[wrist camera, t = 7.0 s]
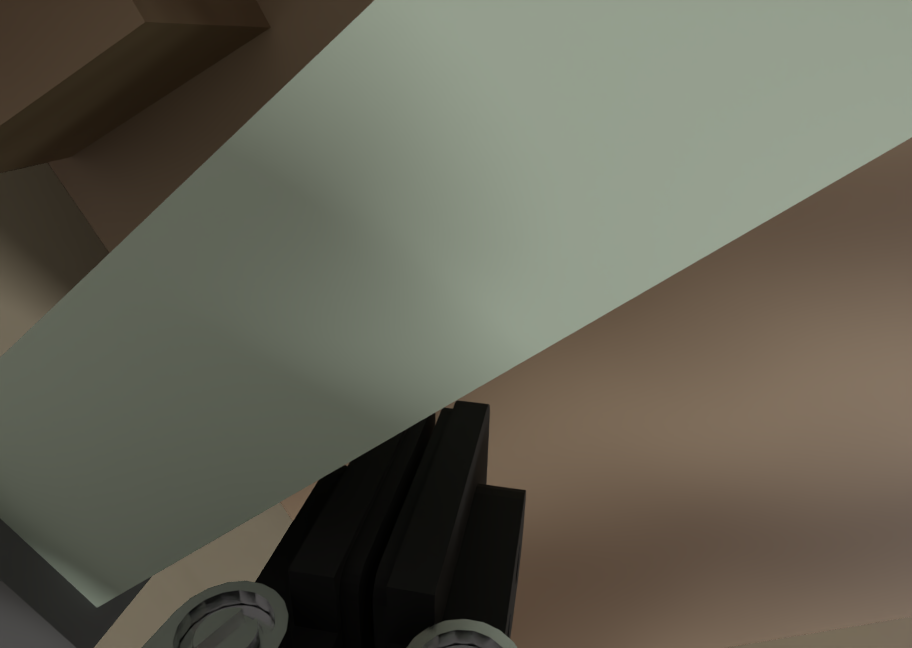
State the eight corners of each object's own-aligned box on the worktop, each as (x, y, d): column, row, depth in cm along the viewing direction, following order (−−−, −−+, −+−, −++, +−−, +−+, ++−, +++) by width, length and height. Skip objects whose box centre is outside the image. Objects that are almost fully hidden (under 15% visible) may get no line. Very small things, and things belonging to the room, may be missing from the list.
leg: (939, -463, 6) (1894, -1828, 2) (1097, -79, 7) (1993, -291, 3) (63, 335, 12) (-239, 505, 8) (207, 486, 13) (12, 714, 9)
